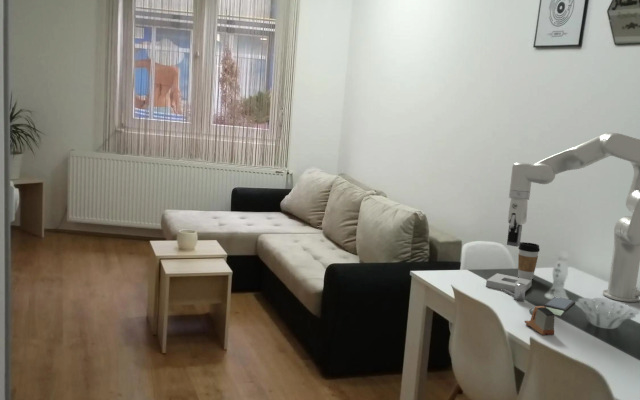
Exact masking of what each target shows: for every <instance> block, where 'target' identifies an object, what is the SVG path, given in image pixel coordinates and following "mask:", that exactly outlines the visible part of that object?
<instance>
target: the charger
mask: <svg viewBox="0 0 640 400" xmlns="http://www.w3.org/2000/svg"><path fill="white" fill-rule="evenodd" d="M515 227H516V226H515ZM509 229H510V224H508V232H507V241H506V245H507V246H510V247H516V248H519V245H520V242H521V238H522V230H523V224H522V225H518V229H517V233H518V236H517V242H516V243H514V242H509V241H508V237H509Z"/></svg>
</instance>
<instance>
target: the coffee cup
mask: <svg viewBox="0 0 640 400" xmlns="http://www.w3.org/2000/svg"><path fill="white" fill-rule="evenodd" d="M517 248H518V261H517V262H518V265H517V266H518V267H517V268H518V269H517V271H518V273H517V277H519V278H523V279H528V280H532V279H534V276H535V271H536V266H537V263H538V262H537V261H538V257H539V256H538V255H539V252H540V244H536V243H534V242H523V241H520V245H519V246H518V247H517ZM532 281H533V280H532Z"/></svg>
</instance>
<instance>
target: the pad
mask: <svg viewBox="0 0 640 400" xmlns="http://www.w3.org/2000/svg"><path fill="white" fill-rule="evenodd" d="M546 308H547V309H549V310H550V311H551V312H553V314H555V316H559V317H561V316H562V315H563V314H564V313H565V311H562V310H558V309H553V308H549V307H546Z"/></svg>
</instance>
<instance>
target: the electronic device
mask: <svg viewBox="0 0 640 400" xmlns="http://www.w3.org/2000/svg"><path fill="white" fill-rule="evenodd" d="M529 314H530V315H531V317H530V320H524V323H525V326H526V327H527V326H528V327H530V328H531V329H532V330H533V331H535V332H536V333H538V334H540V335H541V336H553V335H555V317H556V315H555V314H553V312H551V311H550V310H549V309H547V308H546V307H544V305H537V306H534V308H533V307H532V308H530V309H529Z"/></svg>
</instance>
